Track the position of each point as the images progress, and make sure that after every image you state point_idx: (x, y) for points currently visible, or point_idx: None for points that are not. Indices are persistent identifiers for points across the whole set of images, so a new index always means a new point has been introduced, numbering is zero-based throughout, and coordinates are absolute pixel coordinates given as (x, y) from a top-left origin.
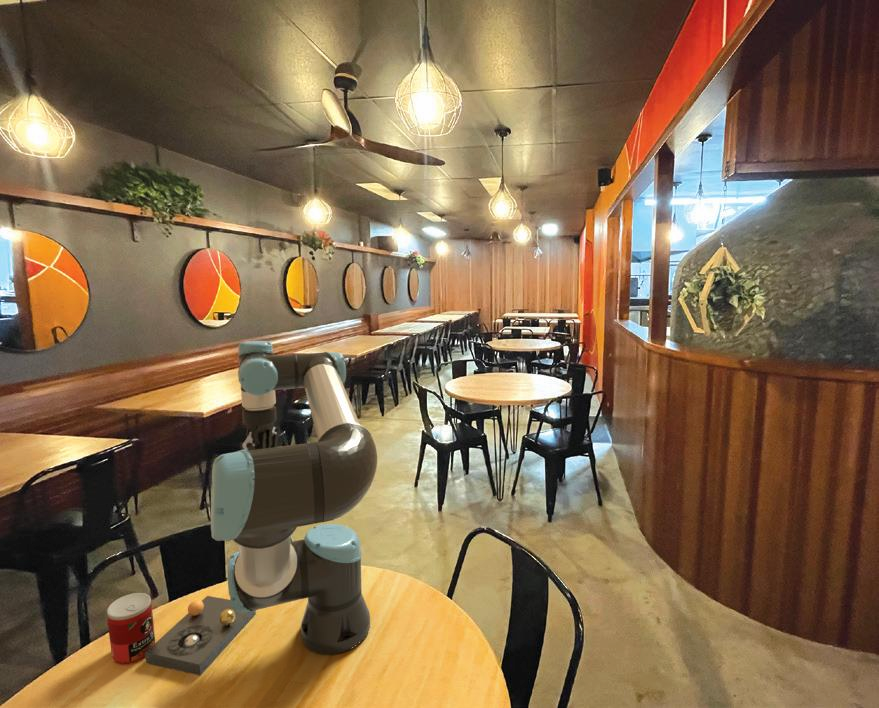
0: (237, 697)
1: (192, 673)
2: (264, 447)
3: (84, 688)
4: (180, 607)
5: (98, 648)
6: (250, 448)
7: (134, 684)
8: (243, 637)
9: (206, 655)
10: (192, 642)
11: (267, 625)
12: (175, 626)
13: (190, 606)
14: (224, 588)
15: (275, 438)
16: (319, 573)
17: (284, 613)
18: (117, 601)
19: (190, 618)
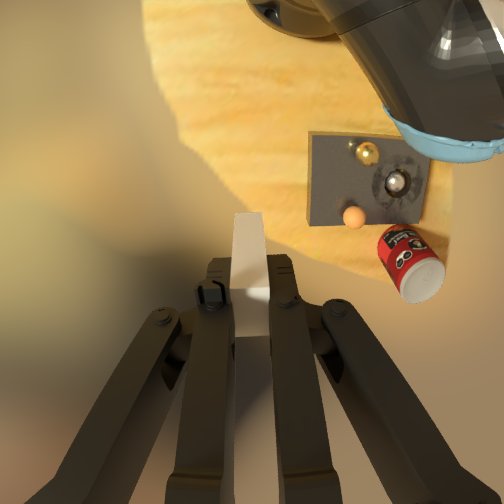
0: None
1: None
2: (315, 494)
3: (438, 248)
4: (318, 251)
5: (391, 280)
6: (483, 488)
7: (436, 205)
8: (358, 120)
9: None
10: (403, 177)
11: (327, 97)
12: (377, 221)
13: (363, 223)
14: (263, 222)
15: (87, 491)
16: None
17: (293, 84)
18: (416, 300)
19: None
